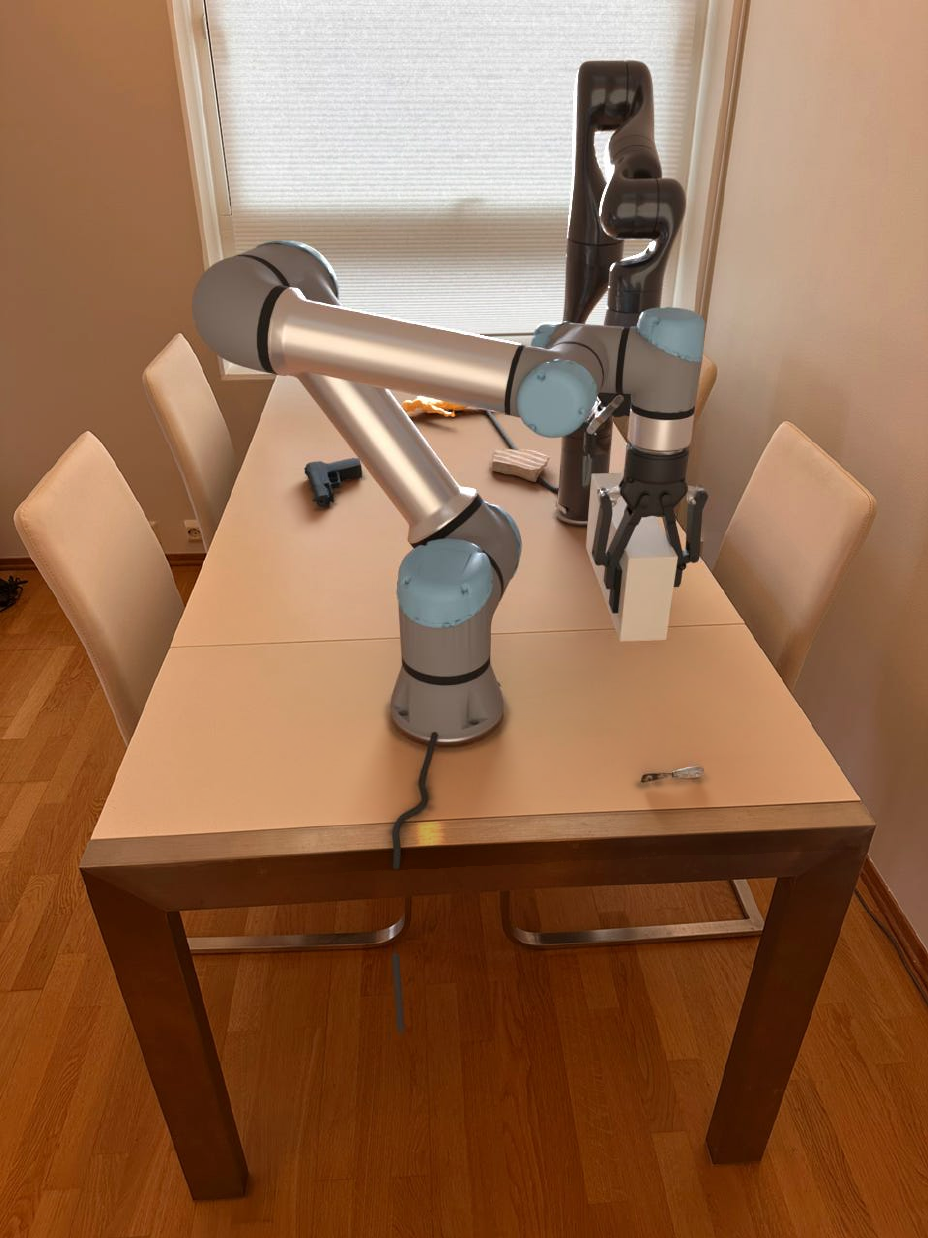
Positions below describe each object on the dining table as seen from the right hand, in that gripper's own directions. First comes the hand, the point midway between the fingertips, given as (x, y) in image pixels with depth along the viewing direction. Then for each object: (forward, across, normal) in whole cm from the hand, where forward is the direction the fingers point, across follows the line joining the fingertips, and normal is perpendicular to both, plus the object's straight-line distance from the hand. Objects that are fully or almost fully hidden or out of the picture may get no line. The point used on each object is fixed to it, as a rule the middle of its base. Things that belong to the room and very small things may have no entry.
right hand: (619, 455), depth 129 cm
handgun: (+26, +46, -51) cm, 74 cm away
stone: (+26, +8, -59) cm, 65 cm away
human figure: (+26, +21, -99) cm, 104 cm away
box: (+17, 0, +10) cm, 19 cm away
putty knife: (+27, -1, +40) cm, 48 cm away
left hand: (+14, 0, +19) cm, 24 cm away
